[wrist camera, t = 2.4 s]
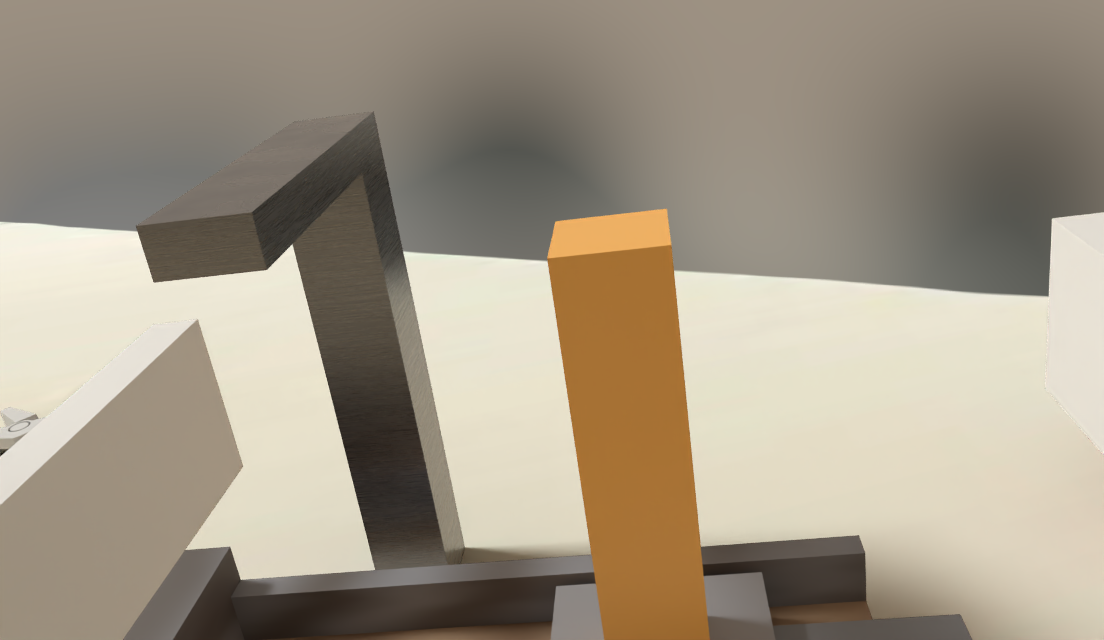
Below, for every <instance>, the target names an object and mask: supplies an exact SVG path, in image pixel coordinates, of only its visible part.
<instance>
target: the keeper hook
mask: <svg viewBox="0 0 1104 640" xmlns="http://www.w3.org/2000/svg"><path fill="white" fill-rule="evenodd" d="M136 228H137V231H138V234H139V238H140V241H141V244H142V247H143V250H144V253H145V256H146V260H147V263H148V266H149V269H150V272H151V275H152V279H153V282H163V281H172V280H181V279H190V278H199V277H208V276H217V275H226V274H235V273H243V272H252V271H261V270H267V269H268V268H269V267H270V266H271V265H272V264H273V263H274V262H275V261H276V260H277V259H278V258H279V257H280V256H281V255H282V254H283V253H284V252H285V251H286V250H287V249H288V248H289V247H290V246H291V245H292V244H293V247H294V251H295V255H296V259H297V263H298V267H299V271H300V275H301V279H302V283H303V287H304V291H305V295H306V299H307V303H308V306H309V310H310V314H311V318H312V322H313V326H314V330H315V334H316V338H317V342H318V346H319V350H320V354H321V358H322V362H323V366H324V370H325V373H326V377H327V381H328V385H329V389H330V393H331V397H332V401H333V405H334V409H335V413H336V417H337V421H338V425H339V429H340V433H341V437H342V440H343V444H344V448H345V452H346V456H347V460H348V464H349V468H350V472H351V476H352V480H353V484H354V488H355V492H356V496H357V500H358V504H359V507H360V511H361V515H362V519H363V523H364V527H365V531H366V535H367V539H368V543H369V547H370V551H371V555H372V559H373V563H374V567H375V570H387V569H400V568H414V567H428V566H442V565H456V564H460V563H461V559H462V555H463V551H464V547H465V546H464V541H463V536H462V532H461V527H460V522H459V517H458V512H457V508H456V503H455V498H454V493H453V488H452V484H451V479H450V474H449V469H448V465H447V460H446V455H445V450H444V445H443V441H442V436H441V431H440V426H439V421H438V417H437V412H436V407H435V402H434V397H433V393H432V388H431V383H430V378H429V373H428V369H427V364H426V359H425V354H424V350H423V345H422V340H421V335H420V330H419V326H418V321H417V316H416V311H415V306H414V302H413V297H412V292H411V287H410V282H409V278H408V273H407V268H406V263H405V259H404V254H403V250H402V244H401V240H400V235H399V230H398V225H397V221H396V216H395V211H394V206H393V202H392V196H391V191H390V187H389V182H388V177H387V172H386V168H385V163H384V158H383V153H382V148H381V144H380V140H379V134H378V129H377V124H376V120H375V115H374V112H365V113H357V114H350V115H342V116H334V117H326V118H319V119H311V120H304V121H296V122H293V123H292V124H290V125H288V126H287V127H285V128H284V129H282V130H281V131H279V132H278V133H276V134H275V135H273V136H272V137H270V138H269V139H267V140H266V141H264V142H263V143H261V144H260V145H258V146H257V147H255V148H254V149H252V150H251V151H249V152H247V153H246V154H245V155H243V156H241V157H240V158H238V159H237V160H235V161H234V162H232V163H231V164H229V165H228V166H226V167H225V168H223V169H222V170H220V171H219V172H217V173H216V174H214V175H213V176H211V177H210V178H208V179H207V180H205V181H203V182H202V183H200V184H199V185H197V186H196V187H194V188H193V189H191V190H190V191H188V192H187V193H185V194H184V195H182V196H181V197H179V198H178V199H176V200H175V201H173V202H172V203H170V204H169V205H167V206H166V207H164V208H162V209H161V210H160V211H158V212H156V213H155V214H153V215H152V216H150V217H149V218H148V219H146V220H144V221H143V222H141V223H140V224H138V225H137V226H136Z"/></svg>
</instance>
